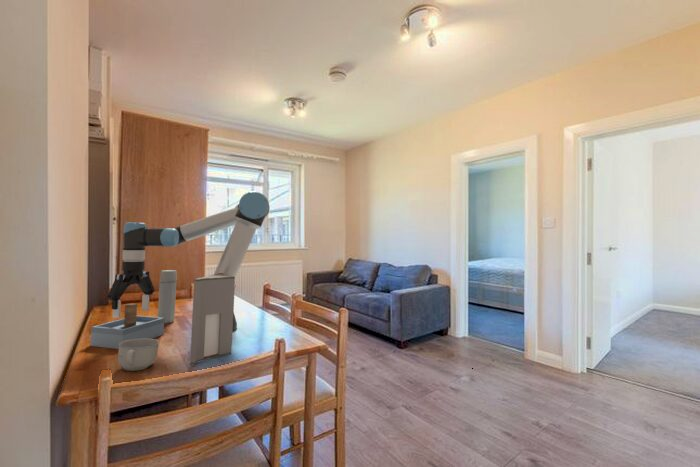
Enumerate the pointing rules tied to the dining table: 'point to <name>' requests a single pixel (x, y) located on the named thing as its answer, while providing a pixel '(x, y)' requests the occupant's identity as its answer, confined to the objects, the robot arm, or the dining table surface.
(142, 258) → the robot arm
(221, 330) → the cabinet
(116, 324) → the box
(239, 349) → the dining table surface
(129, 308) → the peg
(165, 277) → the water bottle
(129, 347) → the teacup
